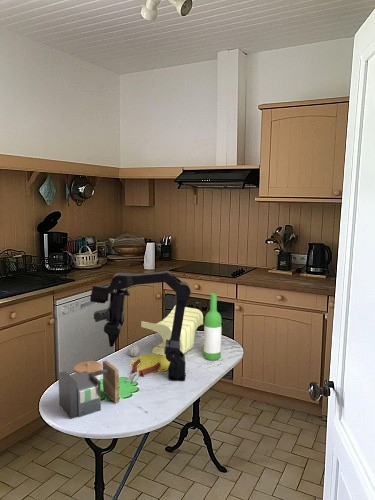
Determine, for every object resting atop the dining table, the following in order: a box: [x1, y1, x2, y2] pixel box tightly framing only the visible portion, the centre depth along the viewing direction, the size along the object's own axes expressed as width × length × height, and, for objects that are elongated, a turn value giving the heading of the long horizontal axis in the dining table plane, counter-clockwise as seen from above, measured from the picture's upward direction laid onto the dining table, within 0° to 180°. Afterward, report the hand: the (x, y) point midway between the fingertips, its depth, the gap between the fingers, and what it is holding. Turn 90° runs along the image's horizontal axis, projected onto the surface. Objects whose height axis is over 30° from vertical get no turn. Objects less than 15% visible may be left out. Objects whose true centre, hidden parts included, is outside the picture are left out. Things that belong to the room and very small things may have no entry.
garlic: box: [127, 343, 141, 358], centre depth 193 cm, size 6×5×5 cm
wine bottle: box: [203, 292, 222, 361], centre depth 190 cm, size 8×8×30 cm
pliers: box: [125, 358, 161, 384], centre depth 175 cm, size 12×20×3 cm, turn 162°
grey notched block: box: [58, 371, 102, 420], centre depth 146 cm, size 10×12×12 cm
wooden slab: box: [89, 360, 120, 403], centre depth 150 cm, size 9×12×12 cm
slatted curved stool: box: [140, 304, 204, 357], centre depth 198 cm, size 30×16×18 cm, turn 152°
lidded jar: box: [73, 360, 103, 382], centre depth 163 cm, size 11×11×9 cm
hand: (112, 342), depth 168 cm, fingers open, 9 cm apart
